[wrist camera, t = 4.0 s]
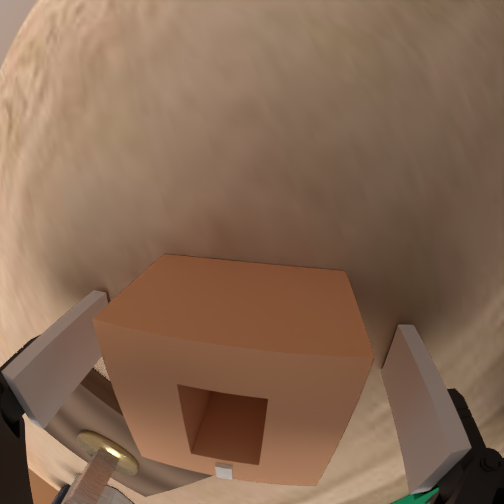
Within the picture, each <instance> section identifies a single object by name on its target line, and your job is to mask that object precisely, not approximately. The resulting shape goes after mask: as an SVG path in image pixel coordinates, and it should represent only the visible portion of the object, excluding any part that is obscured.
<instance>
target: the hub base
mask: <svg viewBox="0 0 504 504" xmlns="http://www.w3.org/2000/svg"><path fill="white" fill-rule="evenodd" d="M44 430H45V431H47V432H48V433H49V434H50V435H51V436H53V437H54V438H55V439H56V440H58V441H59V442H60V443H61V444H63V445H64V446H65V447H67V448H68V449H69V450H71V451H72V452H73V453H75V454H76V455H77V456H79V457H80V458H82V459H83V460H85V461H86V462H87V463H88V464H87V466H86V467H85V469H84V471H83V472H82V474H81V476H80V477H79V479H78V481H77V482H76V484H75V486H74V488H73V489H72V491H71V493H70V494H69V496H68V498H67V500H66V501H65V503H64V504H96V503H97V501H98V500H99V498H100V496H101V494H102V492H103V490H104V488H105V486H106V484H107V482H108V480H109V479H110V477H111V478H112V479H114V480H116V481H118V482H119V483H121V484H123V485H125V486H126V487H128V488H130V489H132V490H134V491H135V492H137V493H139V494H141V495H143V496H145V497H147V496H151V495H154V494H158V493H162V492H165V491H169V490H172V489H175V488H178V487H181V486H185V485H188V484H191V483H193V482H196V481H199V480H202V479H205V478H207V477H210V476H213V475H209V474H204V473H200V472H195V471H191V470H187V469H183V468H179V467H175V466H171V465H168V464H164V463H161V462H158V461H154V460H151V459H148V458H145V457H142V456H141V454H140V452H139V450H138V447H137V445H136V443H135V441H134V439H133V437H132V434H131V432H130V430H129V428H128V425H127V423H126V420H125V418H124V416H123V413H122V411H121V408H120V406H119V403H118V400H117V398H116V395H115V392H114V390H113V387H112V384H111V383H110V382H109V381H108V380H106V379H105V378H104V377H103V376H101V375H100V374H99V373H98V372H96V371H95V370H94V369H93V368H92V369H91V370H90V371H89V373H88V374H87V375H86V376H85V378H84V379H83V380H82V381H81V382H80V384H79V385H78V386H77V387H76V389H75V390H74V391H73V392H72V394H71V395H70V396H69V398H68V399H67V400H66V401H65V403H64V404H63V405H62V406H61V408H60V409H59V410H58V412H57V413H56V414H55V415H54V417H53V418H52V419H51V421H50V422H49V423H48V425H47V426H46V427H45V429H44Z"/></svg>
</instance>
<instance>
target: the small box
mask: <svg viewBox="0 0 504 504" xmlns="http://www.w3.org/2000/svg"><path fill="white" fill-rule="evenodd" d="M70 487H71V486H70V485H66V486H64V487H62V488H61V490H60V491H59V493H58V494H57V495H56V497H55V499H54V500H53V502H52V504H61V503H62V501H63V499H64V497H65V496H66V494H67V492H68V490H69V489H70Z"/></svg>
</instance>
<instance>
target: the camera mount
mask: <svg viewBox="0 0 504 504" xmlns="http://www.w3.org/2000/svg"><path fill="white" fill-rule="evenodd" d="M438 490H439V487H438V488H436V489H434V490H433V491H431V492H429V493H427V494H417V493H415V494H410V495H408V496H406V497H404V498H402V499H400V500H398V501H396V502H394V503H392V504H425V502H426V501H427V500H428V499H429V498H430V497H431V496H432V495H433V494H435V493H436V492H437V491H438ZM430 502H431V501H430ZM430 502H429V503H428V504H430Z"/></svg>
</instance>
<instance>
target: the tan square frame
mask: <svg viewBox="0 0 504 504" xmlns="http://www.w3.org/2000/svg"><path fill="white" fill-rule="evenodd" d="M92 321H93V325H94V329H95V332H96V336H97V340H98V343H99V347H100V350H101V353H102V357H103V360H104V363H105V366H106V369H107V372H108V375H109V378H110V381H111V384H112V387H113V390H114V392H115V395H116V398H117V400H118V403H119V406H120V408H121V411H122V413H123V416H124V418H125V420H126V423H127V425H128V428H129V430H130V432H131V434H132V437H133V439H134V441H135V443H136V445H137V447H138V450H139V452H140V454H141V456H142V457H145V458H148V459H151V460H154V461H158V462H161V463H164V464H168V465H171V466H175V467H179V468H183V469H187V470H191V471H195V472H200V473H204V474H209V475H214V476H216V477H217V478H223V479H229V480H232V479H237V480H244V481H251V482H259V483H269V484H281V485H297V486H316V485H317V483H318V482H319V480H320V478H321V476H322V475H323V473H324V471H325V469H326V467H327V465H328V464H329V462H330V460H331V458H332V456H333V454H334V452H335V450H336V448H337V446H338V444H339V442H340V440H341V438H342V436H343V434H344V432H345V429H346V427H347V425H348V423H349V421H350V419H351V416H352V414H353V412H354V409H355V407H356V405H357V402H358V400H359V398H360V395H361V393H362V390H363V388H364V385H365V382H366V380H367V377H368V375H369V372H370V369H371V366H372V364H373V361H374V358H375V357H374V354H373V351H372V347H371V344H370V341H369V338H368V335H367V331H366V328H365V325H364V322H363V319H362V316H361V313H360V310H359V307H358V304H357V301H356V299H355V296H354V293H353V290H352V287H351V284H350V282H349V279H348V276H347V273H346V271H340V270H329V269H318V268H306V267H295V266H284V265H273V264H262V263H252V262H241V261H231V260H220V259H210V258H200V257H190V256H180V255H170V254H164V255H163V256H161V257H160V258H159V259H158V260H157V261H156V262H154V263H153V264H152V265H151V266H150V267H149V268H148V269H146V270H145V271H144V272H143V273H142V274H141V275H140V276H139V277H137V278H136V279H135V280H134V281H133V282H132V283H131V284H130V285H128V286H127V287H126V288H125V289H124V290H123V291H122V292H121V293H120V294H118V295H117V296H116V297H115V298H114V299H113V300H112V301H111V302H110V303H109V304H108V305H106V306H105V307H104V308H103V309H102V310H101V311H100V312H99V313H98V314H97V315H96V316H95V317H94V318H93V319H92Z"/></svg>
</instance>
